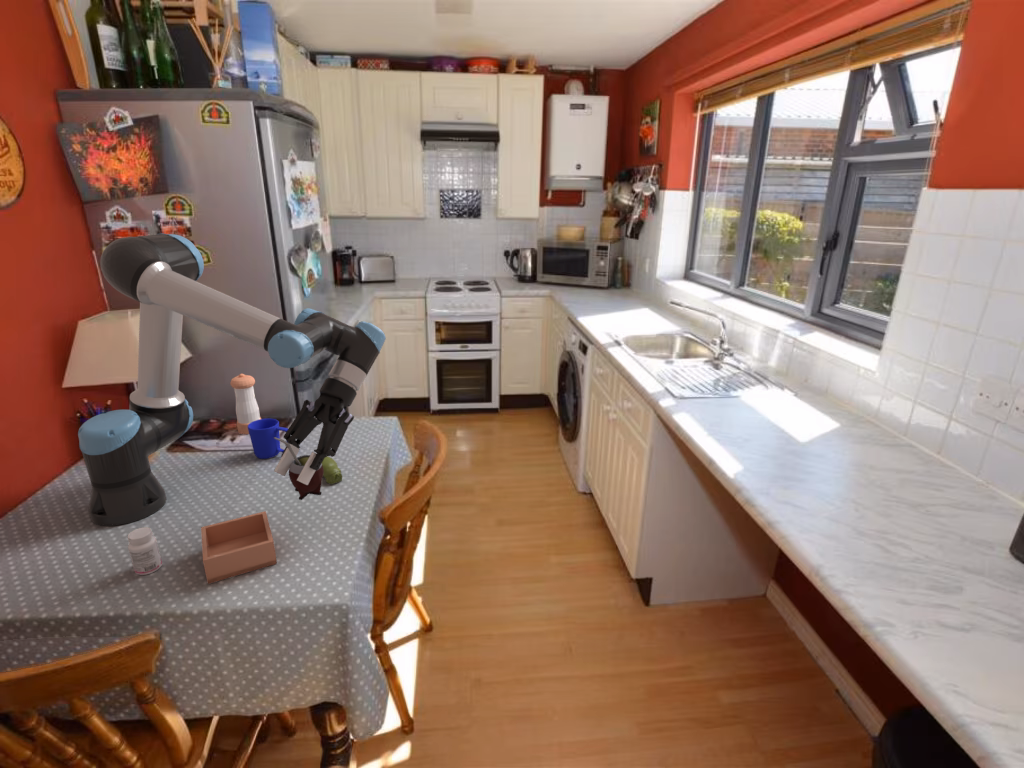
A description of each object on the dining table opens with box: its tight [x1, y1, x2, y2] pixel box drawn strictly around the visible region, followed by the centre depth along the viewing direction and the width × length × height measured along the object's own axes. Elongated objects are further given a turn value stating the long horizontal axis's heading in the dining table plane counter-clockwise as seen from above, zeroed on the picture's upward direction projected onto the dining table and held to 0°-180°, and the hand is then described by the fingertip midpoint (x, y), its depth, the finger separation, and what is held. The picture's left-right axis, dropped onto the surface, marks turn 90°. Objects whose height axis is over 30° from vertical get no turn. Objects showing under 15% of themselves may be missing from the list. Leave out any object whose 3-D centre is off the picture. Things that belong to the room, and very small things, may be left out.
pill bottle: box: [127, 526, 163, 576], centre depth 106 cm, size 5×5×8 cm
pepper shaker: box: [229, 373, 262, 435], centre depth 168 cm, size 7×7×19 cm
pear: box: [322, 456, 343, 485], centre depth 143 cm, size 6×5×10 cm
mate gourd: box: [274, 437, 324, 501], centre depth 114 cm, size 8×8×15 cm
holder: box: [200, 510, 278, 585], centre depth 111 cm, size 13×13×6 cm
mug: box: [248, 418, 289, 460], centre depth 153 cm, size 8×12×10 cm
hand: (290, 478), depth 112 cm, fingers closed on mate gourd, 6 cm apart
